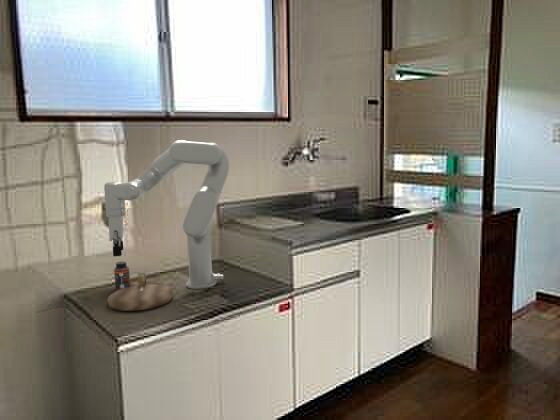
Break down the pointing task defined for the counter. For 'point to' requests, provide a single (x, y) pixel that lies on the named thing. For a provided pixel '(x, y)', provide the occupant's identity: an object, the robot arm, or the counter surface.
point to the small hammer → (144, 275)
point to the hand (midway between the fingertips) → (118, 253)
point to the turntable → (140, 296)
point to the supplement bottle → (121, 276)
